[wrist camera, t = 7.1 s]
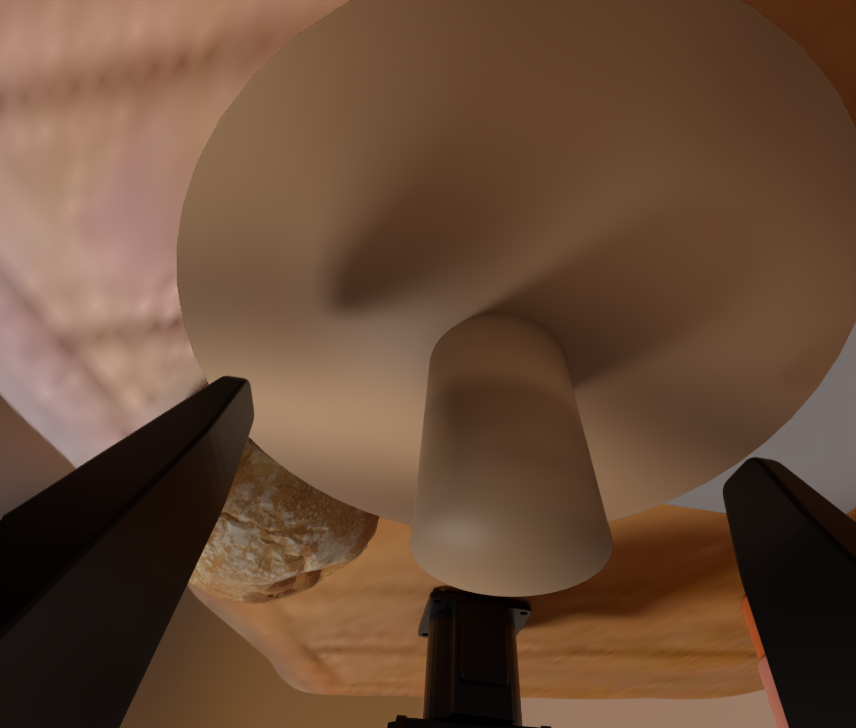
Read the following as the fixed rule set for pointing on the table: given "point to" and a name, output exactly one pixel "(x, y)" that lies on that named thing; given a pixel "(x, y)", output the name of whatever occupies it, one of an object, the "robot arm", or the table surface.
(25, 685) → the robot arm
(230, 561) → the bread roll
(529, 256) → the lid
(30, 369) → the table surface
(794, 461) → the mat
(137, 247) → the table surface
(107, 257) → the table surface
